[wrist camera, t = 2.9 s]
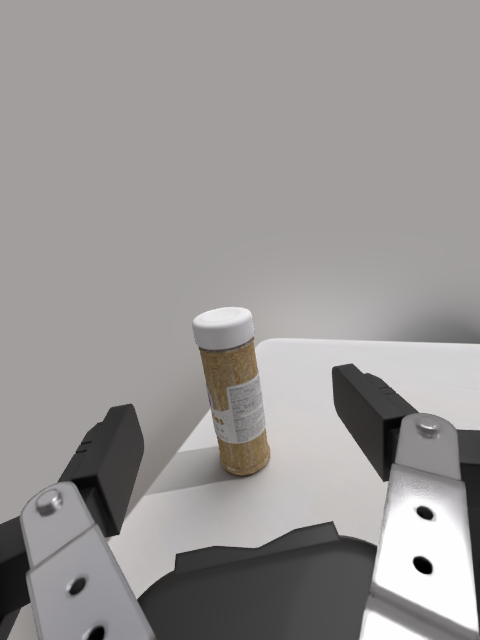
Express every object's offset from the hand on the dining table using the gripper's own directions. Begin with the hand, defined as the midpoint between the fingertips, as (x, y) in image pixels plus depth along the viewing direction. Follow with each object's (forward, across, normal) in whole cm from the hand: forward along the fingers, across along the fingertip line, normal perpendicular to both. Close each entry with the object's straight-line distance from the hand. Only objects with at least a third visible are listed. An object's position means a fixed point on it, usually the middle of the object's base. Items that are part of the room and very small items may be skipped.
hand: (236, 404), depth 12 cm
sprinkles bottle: (+11, 0, +13) cm, 17 cm away
